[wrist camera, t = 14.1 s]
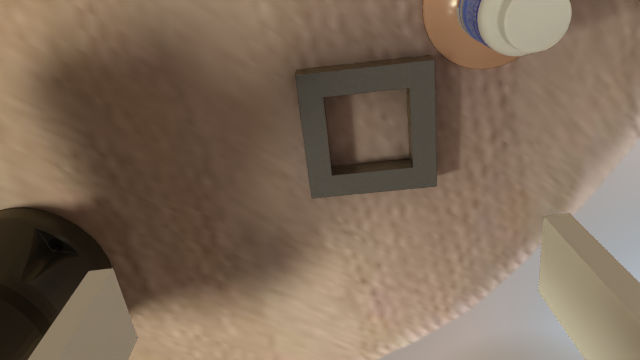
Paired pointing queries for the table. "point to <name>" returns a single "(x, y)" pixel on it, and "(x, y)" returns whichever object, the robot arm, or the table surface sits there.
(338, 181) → the socket plate
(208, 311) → the table surface
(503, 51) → the pill bottle
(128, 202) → the table surface
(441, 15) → the coaster
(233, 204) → the table surface
